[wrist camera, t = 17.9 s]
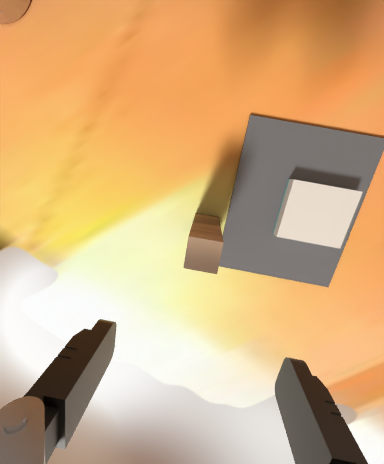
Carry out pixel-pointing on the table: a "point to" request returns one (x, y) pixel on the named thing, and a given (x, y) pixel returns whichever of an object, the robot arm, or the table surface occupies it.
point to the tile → (316, 213)
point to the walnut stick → (204, 244)
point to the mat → (273, 187)
